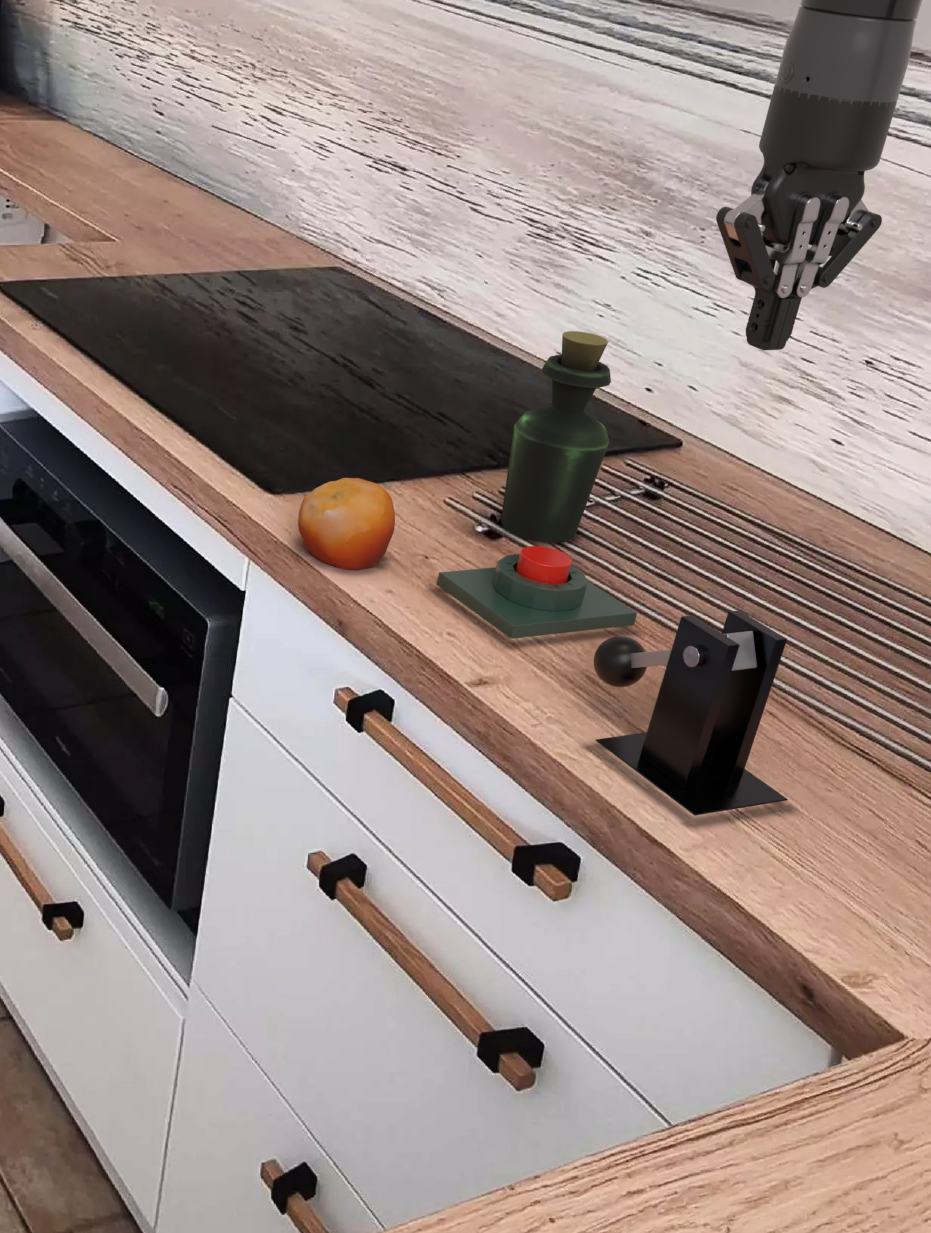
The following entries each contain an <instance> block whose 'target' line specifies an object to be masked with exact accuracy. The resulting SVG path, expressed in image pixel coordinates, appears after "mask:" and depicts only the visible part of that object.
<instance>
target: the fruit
mask: <svg viewBox="0 0 931 1233" xmlns="http://www.w3.org/2000/svg"><path fill="white" fill-rule="evenodd" d="M297 518H298V520H297V527H298V528H297V529H298V532H299V534H300V537H301V539H302V542H303V544H304V547H305V548H306V550H307V551H308V553H309V554H311V555H312V556H314V557H315V558H317V560H320V561H321V562H324V563H325V564H327V565H330V566H332V567H334V568H337V569H340V570H345V571H363V570H369V569H373V568H375V567H376V566H377V565H379V564H380V563H381V562H383V559H384V557H385V555H386V552H387V550H388V547H389V546H390V543H391V540H392V537H393V535H394V532H395V528H396V513H395V507H394V502H393V499H392V497H391V495H390V493H389V492H388V491H387V490H385V488H383V487H382V486H381V485H380V484H377V483H376V482H373V481H370V480H366V479H363V478H361V477H360V478H359V477H355V478H354V477H342V478H340V479H337V480H331V481H328V482H326V483H323V484H321V485H320V486H318V487H315V488H314V489H313V490H311V491H310V492H309V493H308V494H306V495H305V496H304V497H303V499H302V502H301V504H300V507H299V512H298V517H297Z"/></svg>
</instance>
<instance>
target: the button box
mask: <svg viewBox="0 0 931 1233" xmlns="http://www.w3.org/2000/svg"><path fill="white" fill-rule="evenodd" d="M519 555H520V553H517V554H515V553H514V554H507V555H505V556H503V557H501V559H499V560H497V562H496V565H495V566H493V567H485V568H483V567H482V568H473V569H462V570H461V569H460V570H452V571H439V573H438V576H437V580H436V586H438V587H439V588H441V589H442V590H443V591H444V592H446V593H447V594H449V595H450V596H451V597H453V598H454V599H456V600H457V601H458V602H459V603H461V604H462V605H464V606H465V607H467V608H468V609H469V610H470V611H472V612H474V613H475V614H476V615H477V616H479V617H480V618H482V620H484V621H485V622H487V623H488V624H490V625H491V626H493V627H494V628H495V629H497V630H498V631H499V632H501V633H502V634H504V636H506V637H508V639H511V640H512V639H521V638H529V637H539V636H547V635H558V634H565V633H575V632H585V631H593V630H603V629H610V628H612V629H613V628H620V627H628V626H629V627H630V626H635V623H636V619H637V616H638V612H637V611H635V610H634V609H632V608H630V607H629V606H628V605H626V604H625V603H623V602H621V601H620V600H618V599H617V598H615V597H614V596H612V595H610V594H609V593H607V592H606V591H604V590H603V589H601V587H598V586H597V585H596V584H594V583H592V582H591V581H590V580H588V579H587V577H586V574H585V573H584V572H583V571H582V570H580V569H578V568H577V567H576V566H574V565H572V564H571V567H570V571H569V575H568V579H567V582H566V583H563V584H548V583H541V582H536V581H533V580H530V579H528V578H525V577H522V576H521V575H519V574H518V573H517V572H516V568H517V564H518V560H519Z"/></svg>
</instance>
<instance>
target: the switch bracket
mask: <svg viewBox="0 0 931 1233" xmlns="http://www.w3.org/2000/svg"><path fill="white" fill-rule="evenodd" d="M747 631H753V636H754V645H755V654H756V662H757V667H756V668H751V669H743V670H735V671H732V668H733V665H734V662H735V659H736V655H737V652H738V649H739V646H740V645H739V644H738V643H736V642H734V641H733V640H731V639H730V638H728V637H727V636H725V635H723V634H727V633H737V632H747ZM787 641H788V639H787V638H786V637H784V636H783V635H782V634H780V633H778V632H776V631H775V630H773V629H771V628H770V627H768V626H767V625H765V624H764V623H761V622H760V621H758V620H756V619H755V618H754V617H751V616H750V615H748V614H746V613H745V612H744V611H742V610H740V609H739V610H730V611H728V612H727V615H726V618H725V621H724V625H723V628H722V631H718V630H717V629H715V628H714V627H712V626H711V625H709V624H707V623H705V622H704V621H703V620H701V619H699V618H698V617H697V616H695V615H693V614H691V615H685V616H684V615H683V616H681V617H680V619H679V623H678V627H677V630H676V633H675V636H674V639H673V643H672V646H671V649H670V650H671V653H670V656H669V660H668V663H667V665H665V666H666V667H665V670H664V674H663V678H662V680H661V683H660V687H659V691H658V694H657V697H656V701H655V704H654V707H653V710H652V713H651V717H650V721H649V724H648V727H647V731H645V732H639V733H638V732H637V733H631V734H624V735H618V736H617V735H616V736H611V737H604V738H603V737H602V738H596V739H595V742H597V743H598V744H599V745H600V746H602V747H604V749H606V750H607V751H609V752H610V753H611V754H613V755H614V756H615V757H616V758H618V759H619V760H620V761H621V762H623V763H624V764H626V765H627V766H628V767H630V768H631V769H632V770H634V771H635V772H636V773H638V774H639V775H640V776H641V777H643V778H644V779H645V780H647V781H648V782H650V784H652V785H653V786H655V787H656V788H657V789H659V790H660V791H661V792H663V793H664V794H665V795H666V796H668V797H669V798H671V800H673V801H674V802H676V803H677V804H679V805H680V806H681V807H682V808H684V809H685V810H686V811H688V812H689V813H690V814H691V815H693V816H702V815H707V814H714V813H719V812H725V811H732V810H737V809H743V808H750V807H755V806H762V805H768V804H773V803H780V802H786V801H788V800H789V799H788V798H787V797H786V796H784V795H783V794H781V793H780V792H779V791H777V790H776V789H775V788H773V787H771V786H770V785H768V784H767V783H766V782H765V781H763V780H761V779H760V778H759V777H758V776H756V775H755V774H753V773H752V772H750V771H749V770H748V769H746V766H747V763H748V760H749V756H750V753H751V751H752V747H753V744H754V741H755V738H756V735H757V732H758V730H759V726H760V724H761V722H762V717H763V715H764V711H765V709H766V705H767V702H768V699H769V697H770V693H771V690H772V688H773V687H772V686H773V684H774V681H775V679H776V678H775V677H776V675H777V673H778V669H779V666H780V663H781V659H782V657H783V653H784V650H785V648H786V645H787Z"/></svg>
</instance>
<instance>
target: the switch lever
mask: <svg viewBox="0 0 931 1233" xmlns="http://www.w3.org/2000/svg"><path fill="white" fill-rule="evenodd" d="M723 635H725V636H727V637H728V638H730V639H731V640H733V641H734V642H736V643H738V644H739V645H740V646H739V649H738V652H737V655H736V659H735V662H734V665H733V668H732V671H735V670H743V669H751V668H756V667H757V662H756V654H755V645H754V636H753V631H747V632H737V633H727V634H723ZM671 650H672V649H661V650H652V651H646V650H645V648H644V647H643V645H641V643H640V642H638V641H637V640H636V639H634V638H632V637H629V636H625V635H617V636H612V637H609V638H607V639H606V640H604V641H603V642H601V643H600V645H599V646H598V647H597V648H596V650H595V653H594V656H593V668H594V671H595V673H596V675H597V676H598V678H599V679H600V680H601V681H602V682H603V683H605V684H607V685H608V686H611V687H616V688H627V687H630V686H632V685H634V684H637V683H638V682H639V681H640V680H641V679H642V678H643V677H644V675H645V673H646V671H647V668H649V667H661V666H667V663H668V660H669V656H670V653H671Z"/></svg>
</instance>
